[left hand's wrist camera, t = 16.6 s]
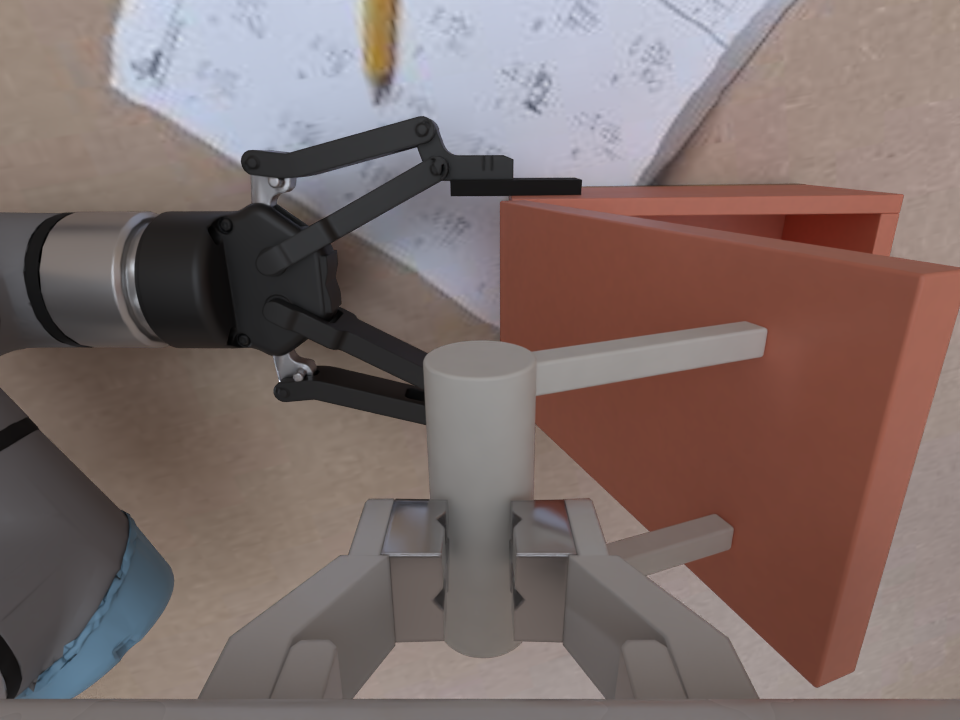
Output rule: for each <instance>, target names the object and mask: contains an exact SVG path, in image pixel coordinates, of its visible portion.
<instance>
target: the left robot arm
mask: <svg viewBox="0 0 960 720" xmlns="http://www.w3.org/2000/svg"><path fill="white" fill-rule="evenodd" d="M448 525H449V509H448V500H433V499H368V500H367V501H366V502H365V505H364V508H363V511H362V514H361V517H360V520H359V523H358V526H357V529H356V532H355V535H354V538H353V541H352V544H351V547H350V550H349V553H348V555H340V556H338V557H337V558H336V559H334V560H333V561H332V562H330V563H329V564H328V565H326V566H325V567H324V568H322V569H321V570H320V571H318V572H317V573H316V574H314V575H313V576H311V577H310V578H309V579H307V580H306V581H305V582H303V583H302V584H301V585H299V586H298V587H297V588H295V589H294V590H293V591H291V592H290V593H289V594H287V595H286V596H285V597H283V598H282V599H280V600H279V601H278V602H276V603H275V604H274V605H272V606H271V607H270V608H268V609H267V610H266V611H264V612H263V613H262V614H260V615H259V616H258V617H256V618H255V619H253V620H252V621H251V622H249V623H248V624H247V625H245V626H244V627H243V628H241V629H240V630H239V631H237V632H236V633H235V634H233V635H232V636H231V637H229V639H228V641H227V643H226V645H225V647H224V649H223V651H222V653H221V655H220V657H219V659H218V660H217V662H216V664H215V666H214V668H213V670H212V672H211V674H210V676H209V678H208V680H207V682H206V684H205V685H204V687H203V689H202V691H201V693H200V695H199V697H198V699H0V720H960V699H759V697H758V695H757V693H756V691H755V689H754V687H753V685H752V683H751V681H750V679H749V677H748V675H747V673H746V671H745V669H744V667H743V665H742V663H741V661H740V659H739V657H738V655H737V653H736V651H735V649H734V647H733V645H732V643H731V641H730V640H729V638H728V637H727V636H725V635H724V634H723V633H721V632H720V631H719V630H717V629H716V628H715V627H713V626H712V625H711V624H709V623H708V622H707V621H705V620H704V619H703V618H701V617H700V616H699V615H697V614H696V613H694V612H693V611H692V610H690V609H689V608H688V607H686V606H685V605H684V604H682V603H681V602H680V601H678V600H677V599H676V598H674V597H673V596H672V595H670V594H669V593H668V592H666V591H665V590H664V589H662V588H661V587H660V586H658V585H657V584H656V583H654V582H653V581H652V580H650V579H649V578H648V577H646V576H645V575H644V574H642V573H641V572H640V571H638V570H637V569H636V568H634V567H633V566H632V565H630V564H629V563H628V562H626V561H625V560H624V559H622V558H621V557H620V556H618V555H610V553H609V550H608V547H607V544H606V541H605V538H604V535H603V532H602V529H601V526H600V523H599V520H598V517H597V514H596V511H595V507H594V504H593V501H592V500H591V499H590V498H582V499H563V500H512V501H510V535H511V539H510V540H509V581H510V592H511V593H512V604H511V612H512V625H513V637H514V641H532V642H563V646H564V647H565V648H566V649H567V651H568V652H569V653H570V654H571V656H572V657H573V658H574V659H575V661H576V662H577V663H578V664H579V666H580V667H581V668H582V669H583V671H584V672H585V673H586V674H587V676H588V677H589V678H590V680H591V681H592V682H593V683H594V685H595V686H596V687H597V688H598V690H599V691H600V692H601V693H602V695H603V696H604V697H605V698H606V699H353V697H354V696H355V695H356V694H357V692H358V691H359V690H360V689H361V687H362V686H363V685H364V684H365V682H366V681H367V680H368V679H369V677H370V676H371V675H372V674H373V672H374V671H375V670H376V669H377V667H378V666H379V665H380V664H381V662H382V661H383V660H384V659H385V658H386V656H387V655H388V654H389V653H390V651H391V650H392V649H393V648H394V646H395V642H425V641H444V640H445V628H446V615H447V592H448V587H449V564H450V546H449V538H448Z"/></svg>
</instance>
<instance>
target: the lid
mask: <svg viewBox="0 0 960 720" xmlns="http://www.w3.org/2000/svg"><path fill="white" fill-rule="evenodd" d="M959 307H960V267H954V266H947V265H941V264H935V263H928V262H922V261H915V260H909V259H902V258H896V257H889V256H883V255H876V254H870V253H863V252H857V251H850V250H844V249H837V248H831V247H825V246H818V245H812V244H805V243H799V242H792V241H786V240H779V239H773V238H766V237H760V236H753V235H747V234H740V233H734V232H727V231H721V230H715V229H708V228H702V227H695V226H689V225H682V224H676V223H669V222H663V221H656V220H650V219H643V218H637V217H630V216H624V215H618V214H611V213H605V212H598V211H592V210H585V209H579V208H572V207H566V206H559V205H553V204H546V203H540V202H533V201H527V200H512V201H501V202H500V341H487V340H478V341H464V342H457V343H452V344H448V345H444V346H441V347H438V348H436V349H434V350H432V351H431V352H429V353H428V354H427V355H426V356H425V358H424V361H423V372H424V391H425V410H426V429H427V448H428V467H429V486H430V499H433V500H448V509H449V525H448V538H449V546H450V564H449V587H448V592H447V615H446V628H445V640H444V641H445V642H446V643H447V644H448V645H449V646H450V647H451V648H452V649H454V650H455V651H457V652H459V653H461V654H463V655H466V656H470V657H475V658H492V657H497V656H501V655H504V654H506V653H508V652H510V651H512V650H514V649H515V648H516V647H518V646H519V645H520V644H521V643H522V641H514V637H513V625H512V612H511V604H512V593H511V592H510V581H509V540H510V539H511V535H510V501H512V500H534V456H535V424H536V425H537V426H538V427H539V428H540V429H541V430H542V431H543V432H545V433H546V434H547V435H548V436H549V437H550V438H551V439H552V440H553V441H554V442H555V443H556V444H557V445H558V446H559V447H560V448H562V449H563V450H564V451H565V452H566V453H567V454H568V455H569V456H570V457H571V458H572V459H573V460H574V461H575V462H576V463H577V464H578V465H580V466H581V467H582V468H583V469H584V470H585V471H586V472H587V473H588V474H589V475H590V476H591V477H592V478H593V479H594V480H595V481H597V482H598V483H599V484H600V485H601V486H602V487H603V488H604V489H605V490H606V491H607V492H608V493H609V494H610V495H611V496H612V497H613V498H615V499H616V500H617V501H618V502H619V503H620V504H621V505H622V506H623V507H624V508H625V509H626V510H627V511H628V512H629V513H630V514H632V515H633V516H634V517H635V518H636V519H637V520H638V521H639V522H640V523H641V524H642V525H643V526H644V527H645V528H646V529H647V530H648V531H650V532H648V533H644V534H640V535H637V536H633V537H630V538H626V539H623V540H619V541H616V542H612V543H609V544H607V547H608V550H609V553H610V555H618V556H620V557H621V558H622V559H624V560H625V561H626V562H628V563H629V564H630V565H632V566H633V567H634V568H636V569H637V570H638V571H640V572H641V573H642V574H644V575H645V576H647V575H650V574H653V573H656V572H659V571H663V570H666V569H669V568H672V567H675V566H679V565H682V564H685V565H686V566H687V567H688V568H689V569H690V570H691V571H692V572H693V573H694V574H695V575H696V576H697V577H698V578H699V579H700V580H702V581H703V582H704V583H705V584H706V585H707V586H708V587H709V588H710V589H711V590H712V591H713V592H714V593H715V594H716V595H717V596H718V597H720V598H721V599H722V600H723V601H724V602H725V603H726V604H727V605H728V606H729V607H730V608H731V609H732V610H733V611H734V612H735V613H737V614H738V615H739V616H740V617H741V618H742V619H743V620H744V621H745V622H746V623H747V624H748V625H749V626H750V627H751V628H752V629H754V630H755V631H756V632H757V633H758V634H759V635H760V636H761V637H762V638H763V639H764V640H765V641H766V642H767V643H768V644H769V645H770V646H772V647H773V648H774V649H775V650H776V651H777V652H778V653H779V654H780V655H781V656H782V657H783V658H784V659H785V660H786V661H787V662H789V663H790V664H791V665H792V666H793V667H794V668H795V669H796V670H797V671H798V672H799V673H800V674H801V675H802V676H803V677H804V678H805V679H807V680H808V681H809V682H810V683H811V684H812V685H813V686H814V687H820V686H822V685H825V684H827V683H829V682H831V681H834V680H836V679H838V678H840V677H843V676H845V675H847V674H849V673H852V672H853V671H854V670H855V667H856V664H857V660H858V657H859V654H860V650H861V647H862V643H863V640H864V636H865V633H866V629H867V626H868V622H869V619H870V615H871V612H872V608H873V605H874V602H875V598H876V595H877V591H878V588H879V584H880V581H881V577H882V574H883V570H884V567H885V563H886V560H887V557H888V553H889V550H890V546H891V543H892V539H893V536H894V532H895V529H896V525H897V522H898V518H899V515H900V511H901V508H902V505H903V501H904V498H905V494H906V491H907V487H908V484H909V480H910V477H911V473H912V470H913V466H914V463H915V460H916V456H917V453H918V449H919V446H920V442H921V439H922V435H923V432H924V428H925V425H926V421H927V418H928V414H929V411H930V408H931V404H932V401H933V397H934V394H935V390H936V387H937V383H938V380H939V376H940V373H941V369H942V366H943V363H944V359H945V356H946V352H947V349H948V345H949V342H950V338H951V335H952V331H953V328H954V324H955V321H956V317H957V314H958V311H959Z"/></svg>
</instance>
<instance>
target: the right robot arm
mask: <svg viewBox="0 0 960 720" xmlns="http://www.w3.org/2000/svg"><path fill="white" fill-rule="evenodd" d="M416 147H417V148H418V151H419V153H420V156H421V159H422V161H423V162H422V163H420V164H418V165H416V166H415V167H413V168H411V169H409V170H408V171H406V172H404V173H402V174H401V175H399V176H397V177H395V178H394V179H392V180H390V181H388V182H387V183H385V184H383V185H382V186H380V187H378V188H376V189H375V190H373V191H371V192H369V193H368V194H366V195H364V196H362V197H361V198H359V199H357V200H355V201H354V202H352V203H350V204H348V205H347V206H345V207H343V208H341V209H340V210H338V211H336V212H334V213H333V214H331V215H329V216H327V217H326V218H324V219H322V220H320V221H318V222H316V223H314V224H313V225H311V226H308V225H306V224H305V223H304V222H302V221H301V220H299V219H298V218H296V217H295V216H293V215H292V214H291V213H289V212H288V211H286V210H285V209H283V208H282V207H280V206H279V205H277V199H278V197H279V195H280V194H282V193H285V192H290V191H292V190H293V189H294V188H295V186H296V178H297V177H306V176H312V175H317V174H321V173H325V172H328V171H332V170H336V169H339V168H343V167H347V166H350V165H354V164H358V163H361V162H365V161H369V160H372V159H376V158H380V157H383V156H387V155H391V154H394V153H398V152H401V151H405V150H409V149H412V148H416ZM241 164H242V167H243V169H244V170H245V171H246V172H247V173H248V174H250V175H251V197H252V204H250V205H248V206H246V207H245V208H243V209H241V210H239V211H191V212H164V213H161V214H160V215H159V214H156V213H153V212H76V213H0V356H1V355H3V354H6V353H8V352H11V351H15V350H19V349H25V348H37V347H91V348H92V347H114V348H164V347H167V346H169V345H170V346H173V347H176V348H254V349H258V350H260V351H263V352H264V353H266V354H268V355H271V356H273V359H274V362H275V366H276V370H277V374H278V378H279V383H278V384H277V385H276V386H275V387H274V395H275V397H276V398H277V399H278V400H280V401H282V402H292V401H302V400H313V399H315V400H319V401H324V402H328V403H332V404H337V405H341V406H345V407H350V408H354V409H358V410H363V411H367V412H371V413H376V414H380V415H384V416H389V417H393V418H398V419H402V420H406V421H411V422H415V423H419V424H424V425H426V410H425V391H424V372H423V361H424V358H425V356H426V355H427V354H428V353H426V352H424V351H422V350H420V349H418V348H416V347H414V346H412V345H410V344H408V343H405V342H403V341H401V340H399V339H397V338H395V337H393V336H391V335H389V334H387V333H385V332H383V331H381V330H379V329H377V328H375V327H373V326H371V325H369V324H367V323H365V322H363V321H361V320H359V319H358V318H357V317H356V316H355V315H354V314H353V313H351V312H349V311H347V310H345V309H343V308H341V307H339V306H340V305H341V293H340V289H339V286H338V283H337V280H336V271H337V265H338V260H337V250H333V248H332V246H331V244H330V243H332V242H334V241H336V240H337V239H339V238H341V237H343V236H344V235H346V234H348V233H350V232H351V231H353V230H355V229H357V228H359V227H360V226H362V225H364V224H366V223H367V222H369V221H371V220H373V219H375V218H376V217H378V216H380V215H382V214H383V213H385V212H387V211H389V210H391V209H392V208H394V207H396V206H398V205H399V204H401V203H403V202H405V201H407V200H408V199H410V198H412V197H414V196H415V195H417V194H419V193H421V192H422V191H424V190H426V189H428V188H430V187H431V186H433V185H435V184H437V183H438V182H440V181H450V184H451V196H542V195H581V189H582V180H581V179H577V178H513V159H511V158H509V157H506V156H504V155H454V154H451V153H450V152H449V151H448V150H447V149H446V148H445V146H444V143H443V140H442V138H441V135H440V132H439V128H438V126H437V124H436V123H435V122H434V121H433V120H431V119H429V118H427V117H424V116H420V117H416V118H412V119H408V120H405V121H401V122H398V123H394V124H391V125H387V126H383V127H380V128H376V129H373V130H369V131H366V132H362V133H358V134H355V135H351V136H348V137H344V138H341V139H337V140H333V141H330V142H326V143H323V144H319V145H316V146H312V147H308V148H305V149H301V150H298V151H294V152H291V153H290V152H281V151H272V150H248V151H246V152H245V153H244V154H243V155H242V158H241ZM307 339H310V340H312V341H314V342H316V343H319V344H321V345H323V346H325V347H327V348H329V349H333V350H342V351H344V352H346V353H348V354H350V355H352V356H354V357H356V358H358V359H360V360H363V361H365V362H367V363H369V364H371V365H373V366H375V367H377V368H379V369H381V370H383V371H385V372H388V373H390V374H392V375H394V376H396V377H398V378H400V379H402V380H404V381H406V382H408V383H410V384H413V385H409V384H405V383H401V382H396V381H392V380H388V379H384V378H379V377H375V376H371V375H366V374H362V373H358V372H354V371H349V370H345V369H341V368H336V367H331V366H316V364H315V361H314V360H312V359H308V358H303V357H300V356H299V355H298V354H297V353H296V351H295V348H296V347H298V346H299V345H300V344H302V343H303V342H304V341H306V340H307ZM414 385H415V386H414ZM173 587H174V575H173V572H172V569H171V567H170V566H169V564H168V563H167V562H166V561H165V560H164V558H163V557H162V556H161V555H160V554H159V552H158V551H157V550H156V549H155V548H154V546H153V545H152V544H151V543H150V541H149V540H148V539H147V538H146V537H145V535H144V534H143V533H142V532H141V531H140V529H139V528H138V527H137V526H136V524H135V521H134V519H132V518H131V516H130V514H128V513H126V512H124V511H123V510H120V509H119V508H118V507H117V506H116V505H115V504H114V503H113V502H112V501H111V500H110V499H109V498H108V497H107V496H106V495H105V494H104V493H103V492H102V491H101V490H100V489H99V488H98V487H97V486H96V485H95V484H94V483H93V482H92V481H91V480H90V479H89V478H88V477H87V476H86V475H85V474H84V473H83V472H82V471H81V470H80V469H79V468H78V467H77V466H76V465H75V464H73V463H72V462H71V461H70V460H69V459H68V458H67V457H66V456H65V455H64V454H63V453H62V452H61V451H60V450H59V449H58V448H57V447H56V446H55V445H54V444H53V443H52V442H51V441H50V440H49V439H48V438H47V437H46V436H45V435H44V434H43V433H42V432H41V431H40V430H39V429H38V427H37V426H36V425H35V424H34V423H33V422H32V421H31V420H30V419H29V417H28V416H27V415H26V414H25V413H24V412H23V411H22V410H21V409H20V407H19V406H18V405H17V404H16V403H15V402H14V401H13V400H12V399H11V398H10V397H9V396H8V395H7V394H6V393H5V392H4V391H3V390H2V389H1V388H0V699H72V698H73V697H75V696H77V695H78V694H80V693H81V692H83V691H84V690H86V689H87V688H88V687H90V686H91V685H93V684H94V683H95V682H96V681H98V680H99V679H100V678H101V677H103V676H104V675H105V674H106V673H107V672H108V671H110V670H111V669H112V668H113V667H114V666H115V665H116V664H117V663H118V662H119V661H120V660H121V659H122V657H123V656H124V654H125V653H126V652H127V651H128V650H129V649H130V648H131V647H132V646H134V645H135V644H136V643H137V642H139V641H140V640H141V639H142V638H143V637H144V636H145V635H146V634H147V633H148V631H149V630H150V629H151V628H152V626H153V625H154V624H155V623H156V621H157V620H158V618H159V617H160V615H161V614H162V613H163V611H164V609H165V608H166V606H167V604H168V602H169V600H170V597H171V595H172V592H173Z"/></svg>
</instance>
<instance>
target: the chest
mask: <svg viewBox="0 0 960 720" xmlns="http://www.w3.org/2000/svg"><path fill="white" fill-rule="evenodd" d="M903 197H904V195H903V194H893V193H883V192H873V191H863V190H853V189H843V188H833V187H823V186H813V185H806V184H734V185H656V186H582V189H581V195H542V196H509V201H512V200H527V201H533V202H540V203H546V204H553V205H559V206H566V207H572V208H579V209H585V210H592V211H598V212H605V213H611V214H618V215H624V216H630V217H637V218H643V219H650V220H656V221H663V222H669V223H676V224H682V225H689V226H695V227H702V228H708V229H715V230H721V231H727V232H734V233H740V234H747V235H753V236H760V237H766V238H773V239H779V240H786V241H792V242H799V243H805V244H812V245H818V246H825V247H831V248H837V249H844V250H850V251H857V252H863V253H870V254H876V255H883V256H890V252H891V247H892V243H893V239H894V235H895V230H896V226H897V222H898V218H899V214H898V213H900V209H901V205H902V201H903Z"/></svg>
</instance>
